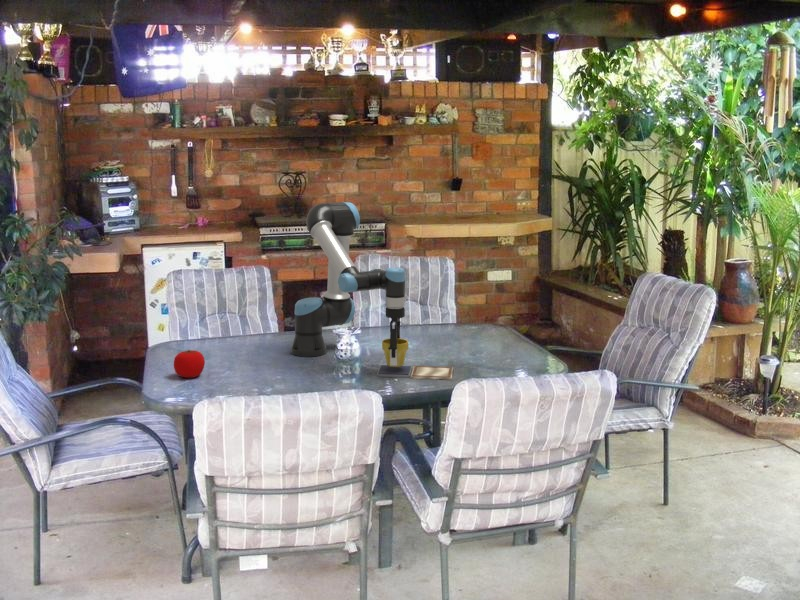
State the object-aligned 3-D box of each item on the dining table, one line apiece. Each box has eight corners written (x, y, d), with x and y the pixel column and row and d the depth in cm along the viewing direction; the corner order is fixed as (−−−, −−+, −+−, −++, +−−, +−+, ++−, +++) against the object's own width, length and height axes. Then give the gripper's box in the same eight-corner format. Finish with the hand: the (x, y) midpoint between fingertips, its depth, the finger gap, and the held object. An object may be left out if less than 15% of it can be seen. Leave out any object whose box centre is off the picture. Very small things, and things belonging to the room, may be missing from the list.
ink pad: (376, 376, 357) (376, 373, 357) (380, 367, 370) (380, 364, 370) (409, 377, 356) (409, 374, 356) (412, 368, 369) (412, 365, 368)
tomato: (177, 381, 348) (176, 355, 346) (171, 374, 358) (170, 348, 356) (208, 378, 352) (207, 352, 350) (202, 370, 363) (201, 345, 361)
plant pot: (389, 369, 355) (389, 345, 353) (377, 363, 364) (377, 339, 362) (412, 366, 360) (412, 342, 358) (400, 360, 369) (400, 337, 367)
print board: (410, 378, 354) (410, 376, 354) (413, 367, 370) (413, 365, 370) (451, 380, 353) (451, 377, 353) (453, 369, 369) (453, 366, 368)
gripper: (402, 313, 346) (401, 369, 350) (407, 301, 368) (406, 354, 373) (382, 312, 347) (382, 368, 351) (388, 301, 369) (388, 354, 373)
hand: (394, 361), depth 362 cm, fingers closed on plant pot, 10 cm apart
